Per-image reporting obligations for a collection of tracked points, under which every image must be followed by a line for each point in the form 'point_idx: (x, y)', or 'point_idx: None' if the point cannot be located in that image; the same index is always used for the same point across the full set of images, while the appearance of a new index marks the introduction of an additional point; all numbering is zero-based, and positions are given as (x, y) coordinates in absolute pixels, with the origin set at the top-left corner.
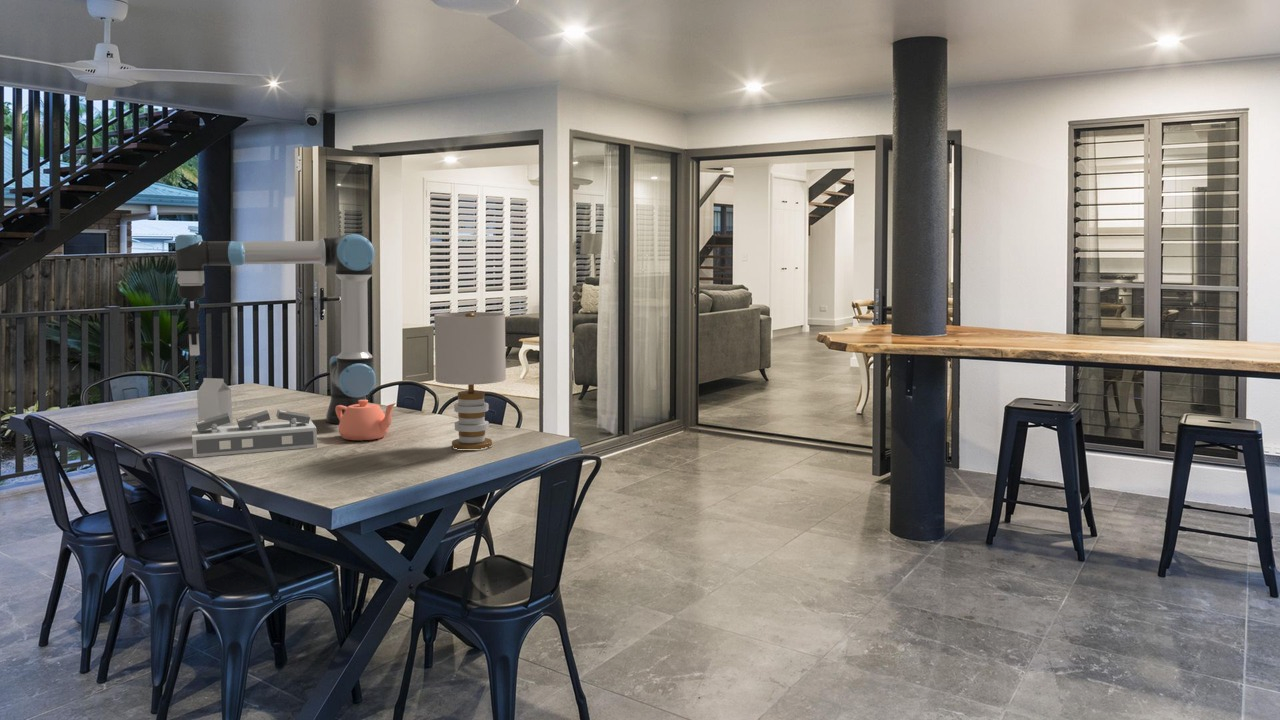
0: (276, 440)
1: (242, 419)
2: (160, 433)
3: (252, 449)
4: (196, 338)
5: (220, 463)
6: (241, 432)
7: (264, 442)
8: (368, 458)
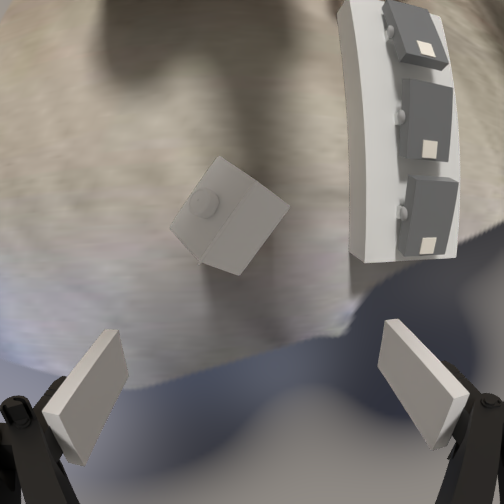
0: None
1: (436, 147)
2: (139, 322)
3: None
4: (469, 382)
5: (487, 204)
6: (452, 157)
7: None
8: (499, 14)
